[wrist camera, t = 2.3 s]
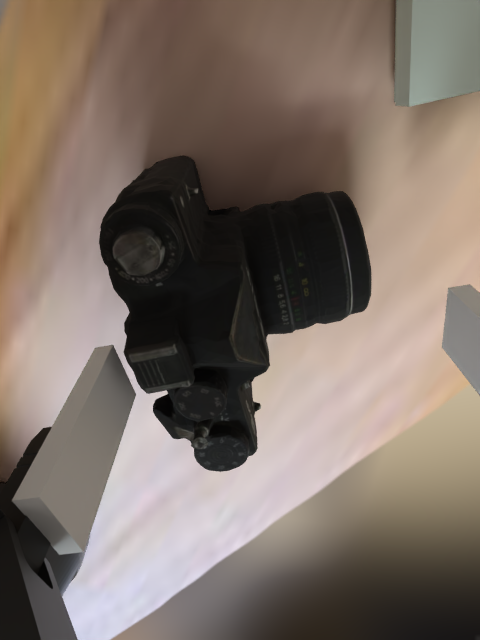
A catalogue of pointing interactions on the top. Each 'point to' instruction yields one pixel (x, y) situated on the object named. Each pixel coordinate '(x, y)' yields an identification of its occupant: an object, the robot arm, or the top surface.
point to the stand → (436, 50)
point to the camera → (223, 295)
